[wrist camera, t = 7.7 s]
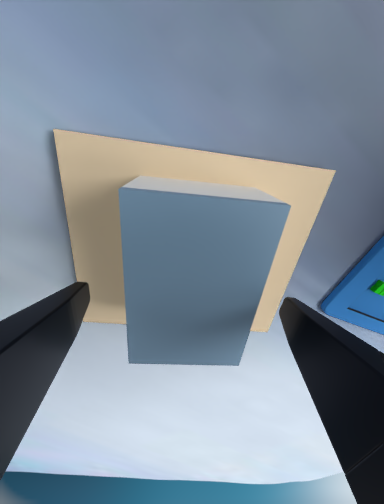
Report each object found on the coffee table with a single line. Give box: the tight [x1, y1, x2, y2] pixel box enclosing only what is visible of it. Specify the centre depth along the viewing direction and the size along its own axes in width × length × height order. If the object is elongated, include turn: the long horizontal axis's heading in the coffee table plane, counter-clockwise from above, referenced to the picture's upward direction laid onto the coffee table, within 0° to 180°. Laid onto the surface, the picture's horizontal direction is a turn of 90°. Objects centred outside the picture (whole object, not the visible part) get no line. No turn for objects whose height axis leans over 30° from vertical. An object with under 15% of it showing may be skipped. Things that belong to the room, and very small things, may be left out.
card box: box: [118, 175, 291, 366], centre depth 11 cm, size 9×6×4 cm, turn 174°
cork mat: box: [53, 129, 336, 332], centre depth 13 cm, size 14×12×1 cm
